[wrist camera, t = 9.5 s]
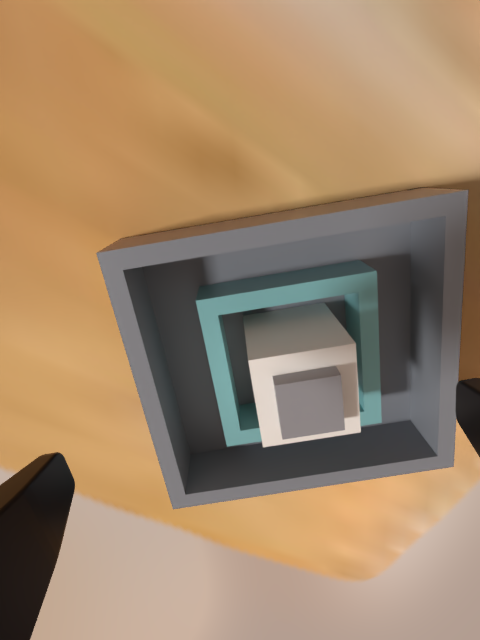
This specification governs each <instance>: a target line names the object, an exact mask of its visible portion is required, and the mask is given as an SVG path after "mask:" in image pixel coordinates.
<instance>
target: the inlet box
mask: <svg viewBox="0 0 480 640" xmlns="http://www.w3.org/2000/svg"><path fill="white" fill-rule="evenodd" d="M467 208H468V190H460V189H442V188H423V187H422V188H416V189H410V190H404V191H398V192H393V193H387V194H381V195H375V196H369V197H363V198H357V199H351V200H345V201H340V202H334V203H328V204H322V205H316V206H310V207H304V208H298V209H293V210H287V211H281V212H275V213H269V214H263V215H257V216H251V217H246V218H240V219H234V220H228V221H222V222H216V223H210V224H204V225H199V226H193V227H187V228H181V229H175V230H169V231H163V232H157V233H152V234H146V235H140V236H134V237H128V238H122V239H119V240H118V241H116V242H114V243H113V244H111V245H109V246H107V247H106V248H104V249H102V250H101V251H99V252H97V253H96V254H97V257H98V260H99V264H100V267H101V270H102V274H103V277H104V280H105V284H106V287H107V290H108V294H109V297H110V300H111V304H112V307H113V310H114V314H115V317H116V320H117V324H118V327H119V330H120V334H121V337H122V340H123V344H124V347H125V350H126V354H127V357H128V360H129V364H130V367H131V370H132V374H133V377H134V380H135V384H136V387H137V390H138V394H139V397H140V400H141V404H142V407H143V410H144V414H145V417H146V420H147V424H148V427H149V430H150V434H151V437H152V441H153V444H154V447H155V451H156V454H157V457H158V461H159V464H160V467H161V471H162V474H163V477H164V481H165V484H166V487H167V491H168V494H169V497H170V501H171V504H172V507H173V509H178V508H184V507H191V506H198V505H204V504H211V503H217V502H224V501H231V500H237V499H244V498H250V497H257V496H264V495H270V494H277V493H283V492H290V491H297V490H303V489H310V488H316V487H323V486H330V485H336V484H343V483H349V482H356V481H363V480H369V479H376V478H382V477H389V476H396V475H402V474H409V473H415V472H422V471H429V470H435V469H442V468H448V467H454V450H455V432H456V412H455V407H456V385H457V383H458V376H459V357H460V338H461V320H462V301H463V282H464V264H465V245H466V226H467ZM318 303H325V304H326V306H327V307H328V308H329V309H330V311H331V312H332V313H333V315H334V316H335V317H336V318H337V320H338V321H339V322H340V324H341V325H342V326H343V327H344V329H345V330H346V331H347V333H348V334H349V335H350V336H351V338H352V339H353V340H354V342H355V343H356V354H357V372H358V390H359V408H360V426H361V432H360V433H353V434H347V435H340V436H334V437H327V438H321V439H314V440H308V441H301V442H295V443H288V444H282V445H276V446H269V447H263V444H262V439H261V433H260V427H259V421H258V415H257V409H256V403H255V398H254V392H253V386H252V380H251V374H250V368H249V363H248V355H247V347H246V339H245V330H244V322H243V316H245V315H251V314H257V313H263V312H269V311H275V310H281V309H288V308H294V307H300V306H306V305H312V304H318Z"/></svg>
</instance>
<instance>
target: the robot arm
mask: <svg viewBox="0 0 480 640" xmlns="http://www.w3.org/2000/svg"><path fill="white" fill-rule="evenodd" d="M455 412H456V418H457V421H458V423H459V425H460V426H461V428H462V429H463V431H464V433H465V434H466V436H467V438H468V439H469V441H470V442H471V444H472V446H473V447H474V449H475V451H476V452H477V454H478V455H479V457H480V378H472V379H467V380H461V381H459V382H458V383H457V385H456V407H455ZM74 489H75V482H74V478H73V476H72V474H71V472H70V469H69V467H68V465H67V463H66V460H65V458H64V456H63V455H62V454H61V453H58V452H56V453H50V454H45V455H41V456H39V457H38V458H37V459H35V460H34V461H33V462H31V463H30V464H28V465H27V466H26V467H24V468H23V469H22V470H20V471H19V472H18V473H16V474H15V475H13V476H12V477H11V478H9V479H8V480H7V481H5V482H4V483H3V484H1V485H0V640H30V638H31V635H32V632H33V629H34V626H35V623H36V621H37V618H38V615H39V612H40V609H41V606H42V603H43V600H44V597H45V594H46V592H47V588H48V586H49V583H50V579H51V577H52V574H53V571H54V568H55V565H56V562H57V558H58V555H59V551H60V548H61V544H62V540H63V536H64V531H65V527H66V523H67V519H68V515H69V511H70V506H71V502H72V498H73V494H74Z"/></svg>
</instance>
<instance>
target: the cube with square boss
mask: <svg viewBox="0 0 480 640" xmlns="http://www.w3.org/2000/svg"><path fill="white" fill-rule="evenodd" d="M243 322H244V330H245V339H246V347H247V355H248V363H249V368H250V374H251V380H252V386H253V392H254V398H255V403H256V409H257V415H258V421H259V427H260V433H261V439H262V444H263V447H269V446H276V445H282V444H288V443H295V442H301V441H308V440H314V439H321V438H327V437H334V436H340V435H347V434H353V433H360V432H361V426H360V408H359V390H358V372H357V354H356V343H355V342H354V340H353V339H352V338H351V336H350V335H349V334H348V333H347V331H346V330H345V329H344V327H343V326H342V325H341V324H340V322H339V321H338V320H337V318H336V317H335V316H334V315H333V313H332V312H331V311H330V309H329V308H328V307H327V306H326V304H325V303H318V304H312V305H306V306H300V307H294V308H288V309H281V310H275V311H269V312H263V313H257V314H251V315H245V316H243Z"/></svg>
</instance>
